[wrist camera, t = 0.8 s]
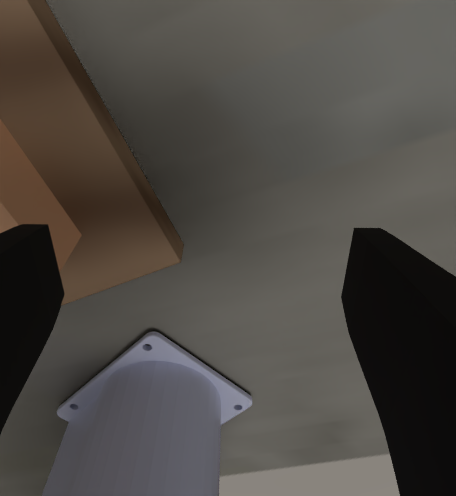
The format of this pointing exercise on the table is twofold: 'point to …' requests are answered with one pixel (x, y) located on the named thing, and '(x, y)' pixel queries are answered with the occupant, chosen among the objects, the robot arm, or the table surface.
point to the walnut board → (79, 155)
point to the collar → (31, 199)
